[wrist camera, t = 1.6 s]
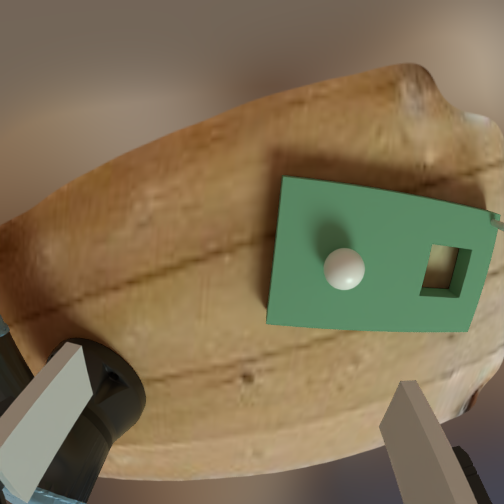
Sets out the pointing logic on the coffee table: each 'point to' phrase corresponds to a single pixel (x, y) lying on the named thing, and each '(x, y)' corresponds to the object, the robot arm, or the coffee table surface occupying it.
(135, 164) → the coffee table surface
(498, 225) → the pin
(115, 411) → the robot arm
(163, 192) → the coffee table surface
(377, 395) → the coffee table surface
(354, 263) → the ball
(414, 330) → the green
